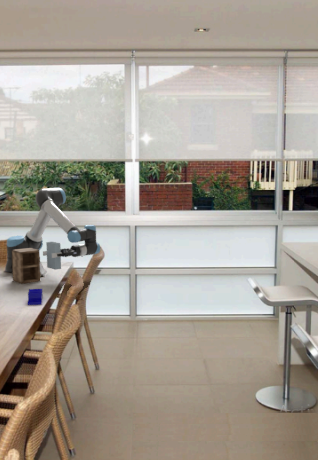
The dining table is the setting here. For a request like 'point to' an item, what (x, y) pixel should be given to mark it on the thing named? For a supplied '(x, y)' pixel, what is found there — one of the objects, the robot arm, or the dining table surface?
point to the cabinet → (26, 265)
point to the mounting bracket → (35, 297)
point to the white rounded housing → (42, 270)
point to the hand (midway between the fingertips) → (47, 254)
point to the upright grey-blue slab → (51, 248)
